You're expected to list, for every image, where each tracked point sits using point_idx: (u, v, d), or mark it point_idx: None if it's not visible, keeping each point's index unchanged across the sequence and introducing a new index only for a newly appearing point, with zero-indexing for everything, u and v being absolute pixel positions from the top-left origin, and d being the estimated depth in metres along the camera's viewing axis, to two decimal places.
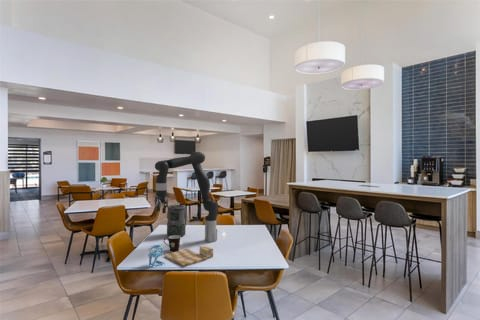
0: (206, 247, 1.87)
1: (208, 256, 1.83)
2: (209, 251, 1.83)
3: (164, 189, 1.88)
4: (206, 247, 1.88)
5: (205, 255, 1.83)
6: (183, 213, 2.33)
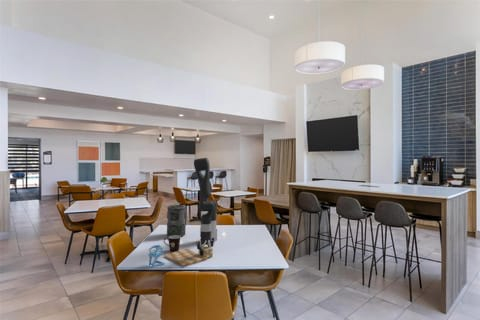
0: (205, 247, 1.87)
1: (208, 256, 1.82)
2: (209, 251, 1.83)
3: None
4: (205, 247, 1.88)
5: (204, 255, 1.83)
6: (183, 213, 2.33)
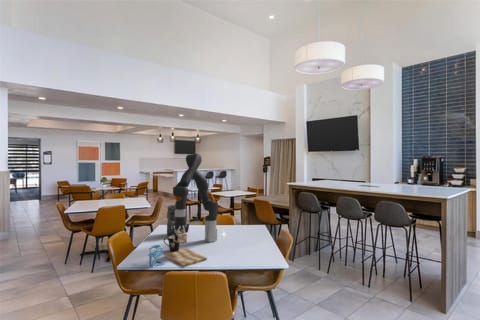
0: (180, 233, 1.88)
1: (181, 241, 1.83)
2: (182, 236, 1.84)
3: None
4: (180, 232, 1.88)
5: (178, 240, 1.84)
6: None
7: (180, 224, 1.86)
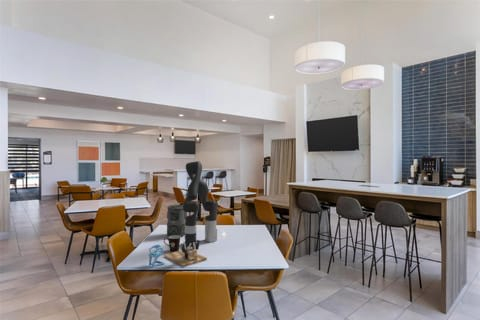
0: (190, 249, 1.78)
1: (191, 258, 1.74)
2: (193, 253, 1.74)
3: None
4: (190, 248, 1.79)
5: (188, 257, 1.74)
6: (183, 213, 2.33)
7: (190, 241, 1.77)
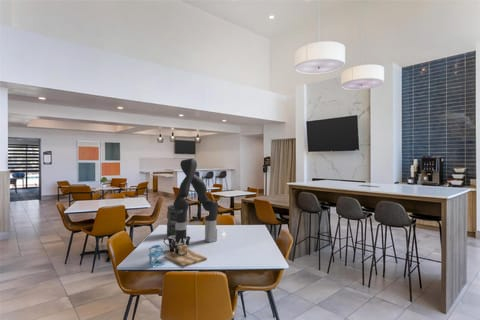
0: (180, 244, 1.87)
1: (182, 253, 1.82)
2: (183, 248, 1.83)
3: None
4: (181, 244, 1.88)
5: (179, 252, 1.83)
6: None
7: (181, 237, 1.85)
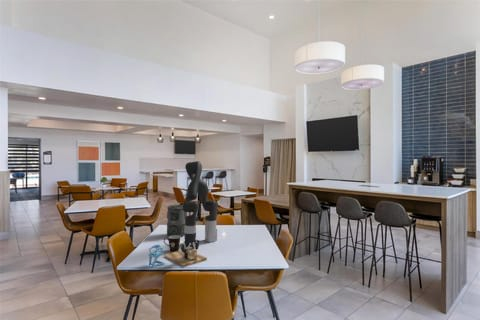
0: (190, 248, 1.79)
1: (191, 258, 1.74)
2: (192, 253, 1.74)
3: None
4: (190, 248, 1.79)
5: (188, 257, 1.75)
6: (183, 213, 2.33)
7: (190, 241, 1.77)
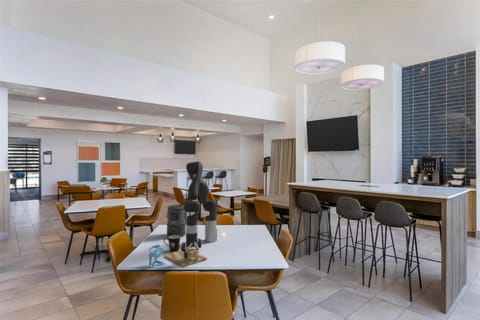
0: (191, 249, 1.78)
1: (193, 259, 1.73)
2: (194, 253, 1.74)
3: None
4: (191, 249, 1.78)
5: (190, 258, 1.74)
6: (183, 213, 2.33)
7: (192, 241, 1.76)
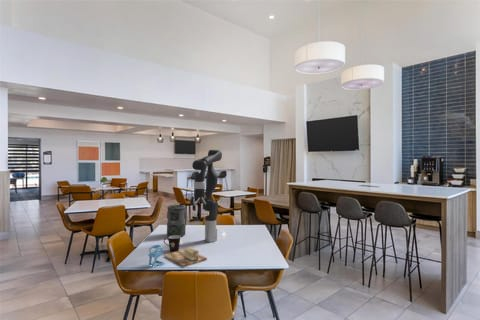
0: (191, 249, 1.78)
1: (193, 259, 1.73)
2: (194, 253, 1.74)
3: None
4: (191, 249, 1.78)
5: (190, 258, 1.74)
6: (183, 213, 2.33)
7: (199, 196, 1.96)
